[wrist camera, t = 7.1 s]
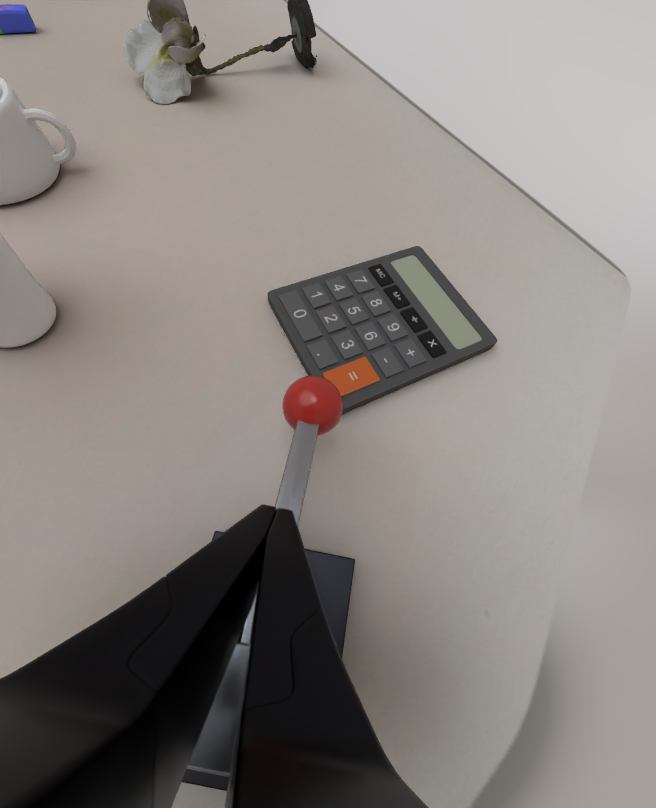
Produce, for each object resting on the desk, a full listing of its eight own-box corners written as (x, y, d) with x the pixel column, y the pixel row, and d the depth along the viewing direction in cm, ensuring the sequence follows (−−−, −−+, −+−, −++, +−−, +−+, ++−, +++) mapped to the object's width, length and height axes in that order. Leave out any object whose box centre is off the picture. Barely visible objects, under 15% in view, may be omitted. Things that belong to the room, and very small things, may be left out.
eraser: (-19, 28, 42) (-33, 4, 40) (36, 27, 44) (24, 3, 42) (-19, 35, 42) (-33, 11, 40) (36, 33, 43) (25, 10, 41)
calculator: (265, 290, 27) (419, 243, 31) (266, 298, 28) (416, 251, 32) (333, 412, 23) (500, 340, 27) (331, 418, 24) (494, 347, 28)
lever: (289, 395, 20) (291, 357, 18) (341, 406, 20) (351, 370, 18) (184, 744, 11) (158, 768, 8) (281, 764, 11) (283, 793, 8)
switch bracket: (219, 532, 20) (160, 505, 11) (352, 559, 20) (397, 554, 11) (149, 759, 16) (-37, 1010, 7) (319, 794, 16) (353, 1088, 7)
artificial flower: (325, 93, 46) (334, -5, 36) (161, 140, 42) (121, 45, 32) (298, 39, 46) (300, -72, 37) (135, 81, 43) (89, -29, 33)
